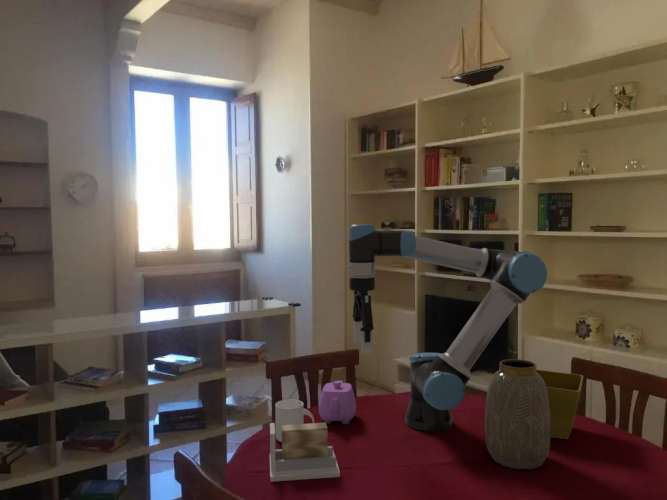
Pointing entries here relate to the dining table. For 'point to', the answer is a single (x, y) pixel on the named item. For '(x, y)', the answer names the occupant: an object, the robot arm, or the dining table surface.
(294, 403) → the mug
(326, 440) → the door panel
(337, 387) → the teapot
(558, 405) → the flower pot
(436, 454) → the dining table surface
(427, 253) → the robot arm
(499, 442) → the vase
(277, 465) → the white stand
